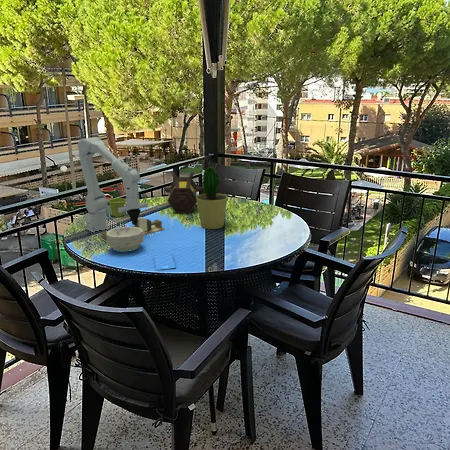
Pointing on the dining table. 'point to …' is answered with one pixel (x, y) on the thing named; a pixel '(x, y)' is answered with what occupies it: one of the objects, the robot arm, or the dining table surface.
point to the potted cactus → (211, 201)
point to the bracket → (149, 224)
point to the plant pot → (116, 206)
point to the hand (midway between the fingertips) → (134, 224)
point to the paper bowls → (125, 238)
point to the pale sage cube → (142, 223)
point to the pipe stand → (155, 227)
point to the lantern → (183, 193)
